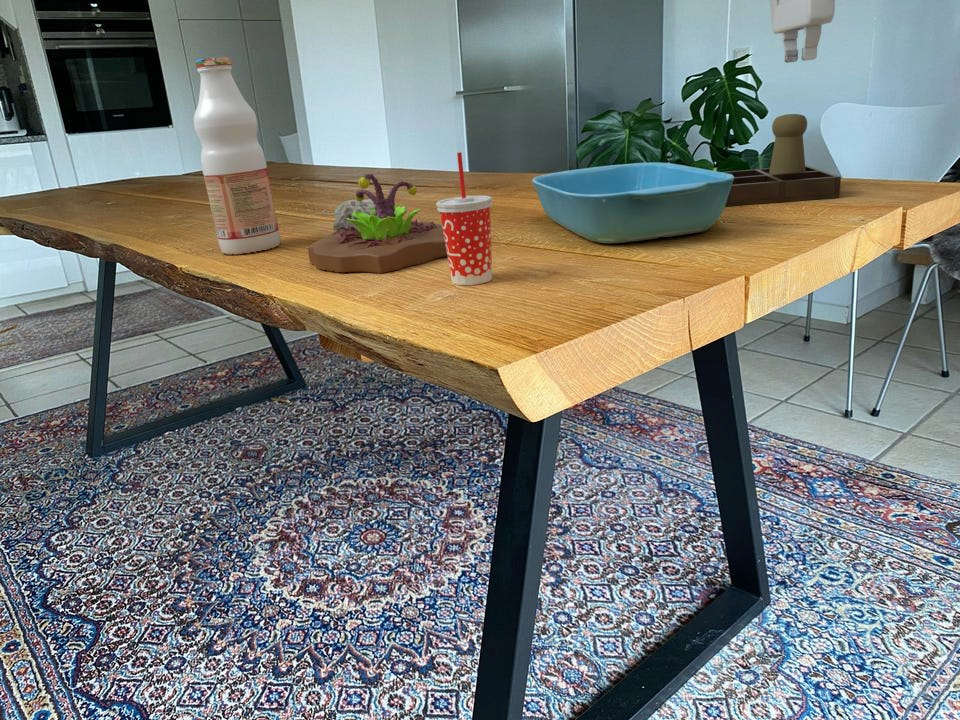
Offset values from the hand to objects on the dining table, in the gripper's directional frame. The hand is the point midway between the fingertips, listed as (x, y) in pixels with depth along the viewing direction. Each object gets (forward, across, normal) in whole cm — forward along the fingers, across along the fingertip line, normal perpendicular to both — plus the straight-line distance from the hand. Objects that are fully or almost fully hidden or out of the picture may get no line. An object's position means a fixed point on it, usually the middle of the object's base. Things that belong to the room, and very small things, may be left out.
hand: (799, 61), depth 114 cm
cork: (+19, 0, +1) cm, 19 cm away
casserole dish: (+19, -20, +29) cm, 40 cm away
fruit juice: (+18, -18, +87) cm, 91 cm away
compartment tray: (+20, -3, +5) cm, 21 cm away
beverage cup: (+19, -47, +48) cm, 70 cm away
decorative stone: (+19, -5, +72) cm, 75 cm away
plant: (+19, -30, +62) cm, 72 cm away
